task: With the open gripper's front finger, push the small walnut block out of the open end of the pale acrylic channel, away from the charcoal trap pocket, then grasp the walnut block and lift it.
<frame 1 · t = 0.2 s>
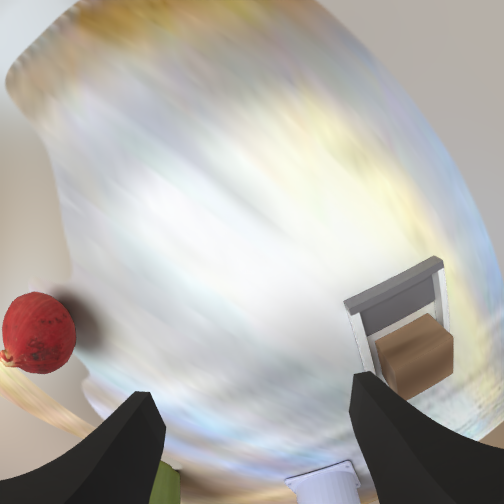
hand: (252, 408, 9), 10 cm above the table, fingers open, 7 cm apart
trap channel: (404, 336, 20), on the table
pomegranate: (64, 310, 19), on the table
walnut block: (404, 344, 20), on the table
plant pot: (150, 466, 25), on the table
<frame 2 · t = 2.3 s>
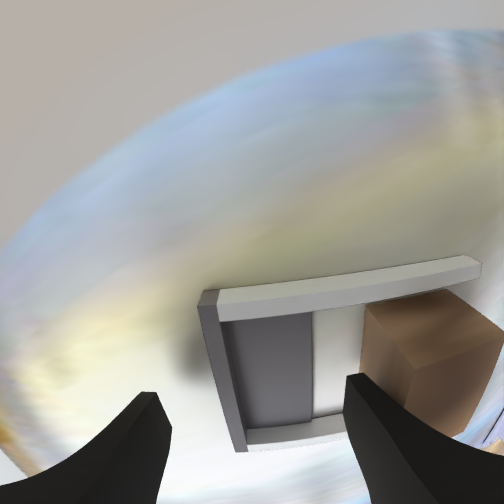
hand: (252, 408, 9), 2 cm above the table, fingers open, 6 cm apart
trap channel: (358, 359, 11), on the table
walnut block: (402, 348, 11), on the table, touching gripper
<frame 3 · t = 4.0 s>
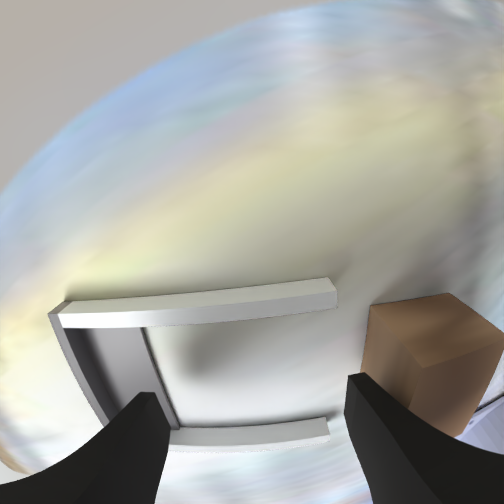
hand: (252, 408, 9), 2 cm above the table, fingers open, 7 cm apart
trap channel: (205, 378, 11), on the table
walnut block: (403, 350, 11), on the table, touching gripper
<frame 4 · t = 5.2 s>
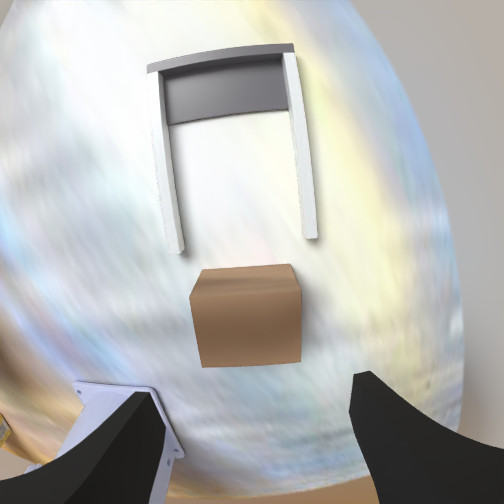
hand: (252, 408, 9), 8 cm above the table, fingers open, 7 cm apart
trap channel: (231, 150, 14), on the table
walnut block: (248, 298, 17), on the table
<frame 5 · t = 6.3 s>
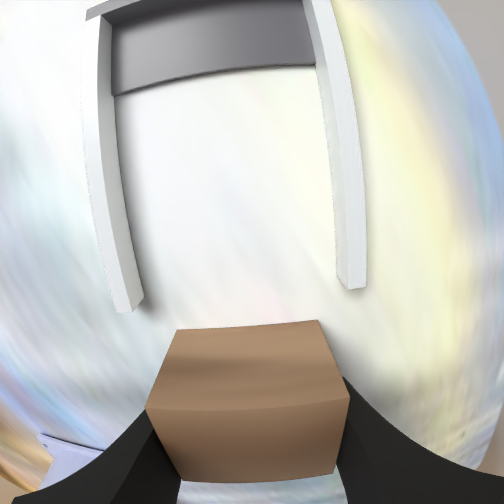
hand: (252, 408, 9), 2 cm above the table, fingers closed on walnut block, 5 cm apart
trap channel: (216, 131, 8), on the table
walnut block: (251, 370, 10), on the table, touching gripper
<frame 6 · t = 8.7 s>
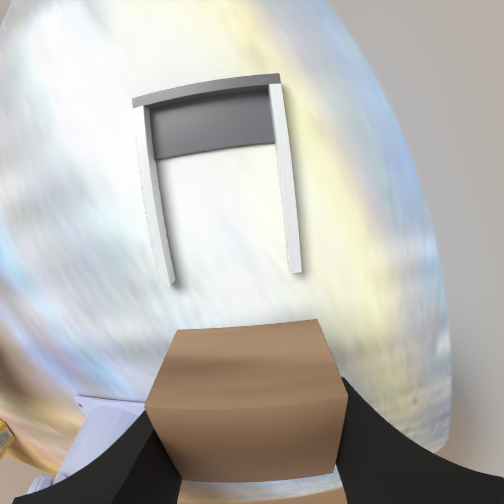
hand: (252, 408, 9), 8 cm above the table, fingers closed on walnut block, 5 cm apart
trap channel: (218, 185, 15), on the table
walnut block: (251, 369, 10), point 7 cm above the table, touching gripper
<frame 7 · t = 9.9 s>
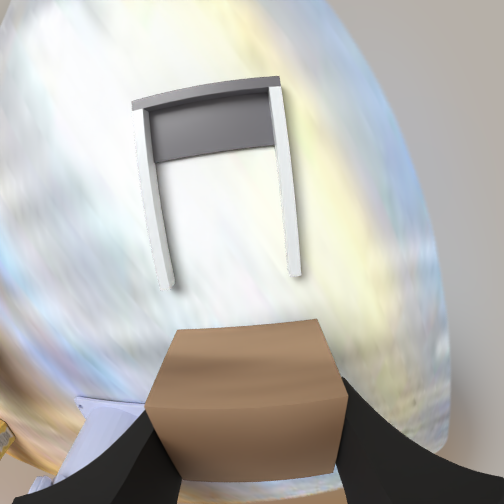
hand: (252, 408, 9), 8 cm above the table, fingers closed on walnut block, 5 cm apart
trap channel: (217, 188, 15), on the table
walnut block: (251, 369, 10), point 7 cm above the table, touching gripper
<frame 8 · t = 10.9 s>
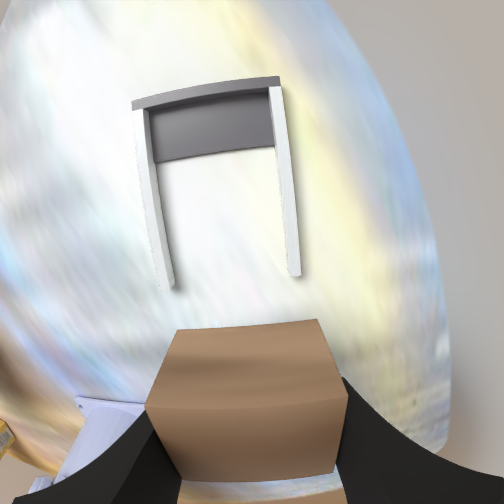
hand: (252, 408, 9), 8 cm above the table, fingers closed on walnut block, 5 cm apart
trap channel: (217, 188, 15), on the table
walnut block: (251, 369, 10), point 7 cm above the table, touching gripper
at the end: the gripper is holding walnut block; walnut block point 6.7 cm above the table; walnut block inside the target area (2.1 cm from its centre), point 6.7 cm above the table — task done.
